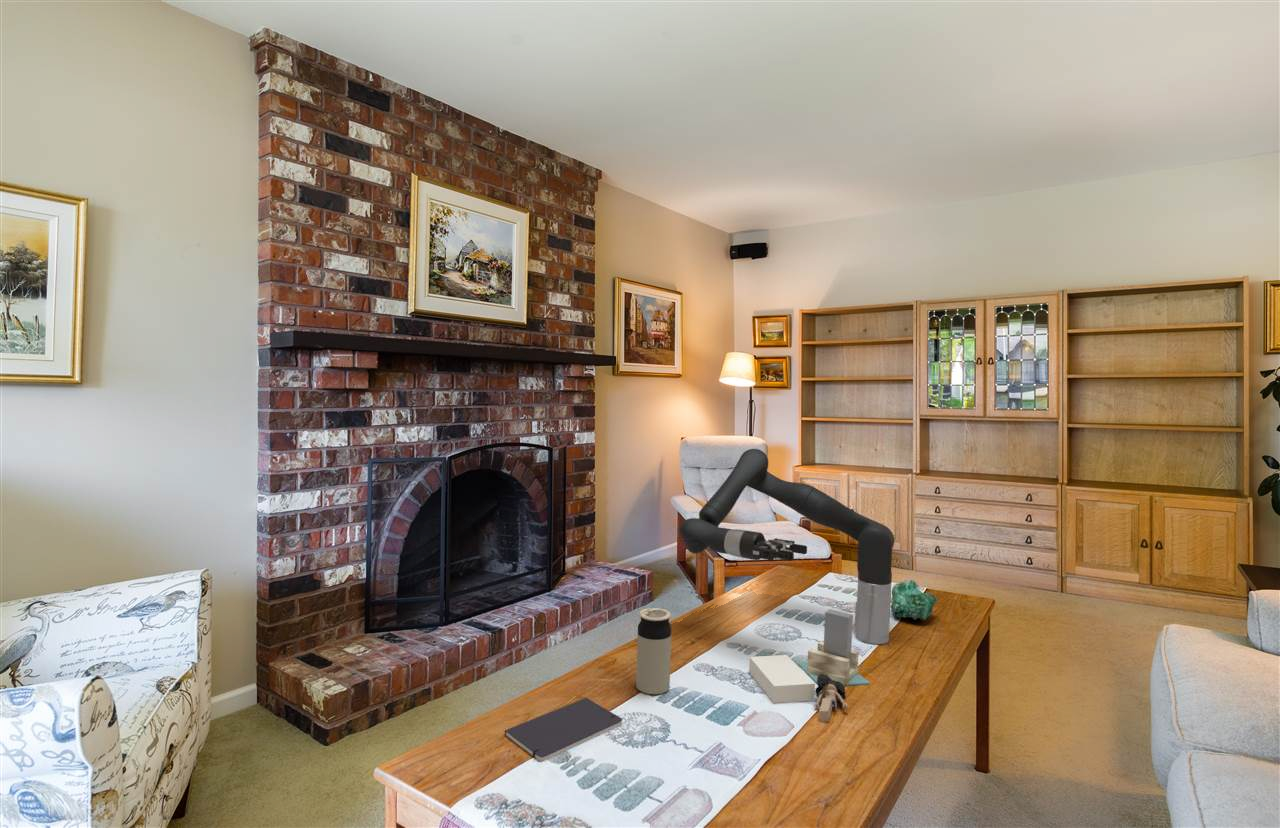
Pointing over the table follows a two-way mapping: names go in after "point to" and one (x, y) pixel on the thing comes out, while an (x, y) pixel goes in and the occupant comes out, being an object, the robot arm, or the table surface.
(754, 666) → the cream flat block
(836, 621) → the grey rectangular block
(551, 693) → the table surface
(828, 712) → the toy figure
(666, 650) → the travel mug
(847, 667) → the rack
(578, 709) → the notebook
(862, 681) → the mat
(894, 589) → the mineral
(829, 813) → the table surface
